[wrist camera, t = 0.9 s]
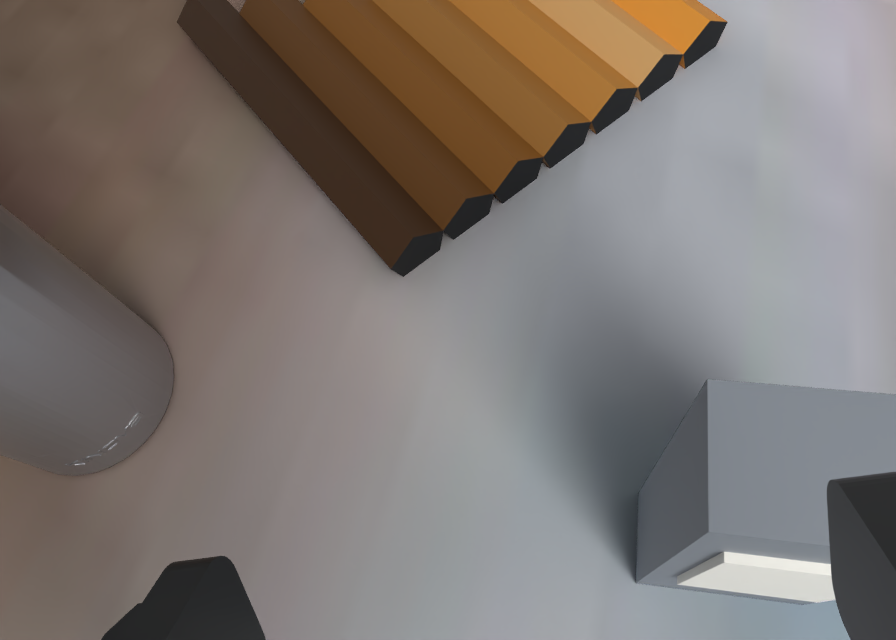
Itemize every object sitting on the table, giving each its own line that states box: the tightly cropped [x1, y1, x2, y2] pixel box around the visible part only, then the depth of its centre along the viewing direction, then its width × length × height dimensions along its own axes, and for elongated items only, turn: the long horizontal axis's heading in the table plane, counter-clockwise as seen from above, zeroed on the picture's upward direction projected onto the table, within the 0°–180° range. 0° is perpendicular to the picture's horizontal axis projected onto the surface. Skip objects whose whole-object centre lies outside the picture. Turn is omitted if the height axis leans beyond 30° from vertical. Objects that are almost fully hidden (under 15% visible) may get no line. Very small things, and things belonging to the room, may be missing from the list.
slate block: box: [636, 379, 896, 605], centre depth 25 cm, size 4×7×16 cm, turn 82°
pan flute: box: [177, 0, 727, 277], centre depth 46 cm, size 25×3×25 cm
